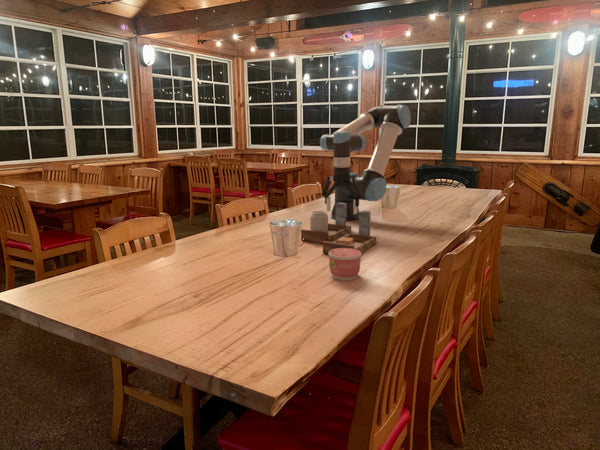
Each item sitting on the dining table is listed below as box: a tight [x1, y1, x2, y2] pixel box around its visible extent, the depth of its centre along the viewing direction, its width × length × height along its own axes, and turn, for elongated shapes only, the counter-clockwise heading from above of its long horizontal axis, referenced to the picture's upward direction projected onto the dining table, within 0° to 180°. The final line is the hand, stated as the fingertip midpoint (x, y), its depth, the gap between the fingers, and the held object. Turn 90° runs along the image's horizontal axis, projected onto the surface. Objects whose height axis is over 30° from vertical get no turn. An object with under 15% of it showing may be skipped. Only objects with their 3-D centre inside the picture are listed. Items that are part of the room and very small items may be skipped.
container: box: [328, 248, 362, 281], centre depth 140 cm, size 10×10×8 cm
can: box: [309, 210, 329, 233], centre depth 185 cm, size 8×8×12 cm
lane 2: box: [322, 210, 378, 255], centre depth 173 cm, size 28×12×12 cm, turn 150°
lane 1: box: [300, 203, 352, 244], centre depth 192 cm, size 28×12×12 cm, turn 150°
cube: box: [337, 236, 354, 245], centre depth 168 cm, size 5×5×5 cm
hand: (341, 212), depth 202 cm, fingers open, 13 cm apart
